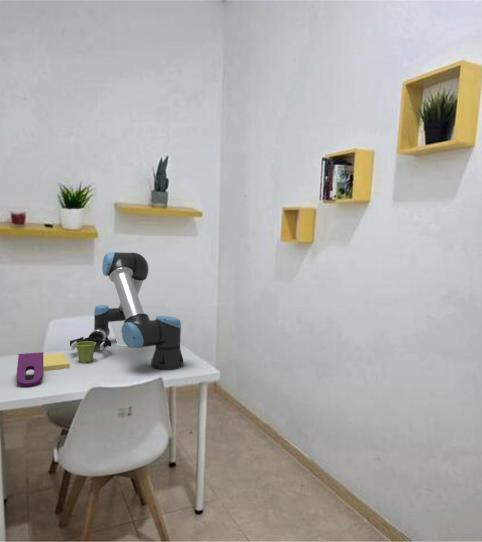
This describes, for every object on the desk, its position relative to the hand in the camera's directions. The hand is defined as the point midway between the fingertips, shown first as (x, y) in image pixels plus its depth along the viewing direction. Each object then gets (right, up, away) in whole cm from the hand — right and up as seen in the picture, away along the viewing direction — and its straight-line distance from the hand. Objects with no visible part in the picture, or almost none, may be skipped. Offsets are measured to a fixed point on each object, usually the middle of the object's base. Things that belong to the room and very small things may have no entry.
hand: (86, 347), depth 204 cm
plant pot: (+1, -6, -3) cm, 7 cm away
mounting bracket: (-12, -8, -31) cm, 34 cm away
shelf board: (-13, -6, -8) cm, 16 cm away
